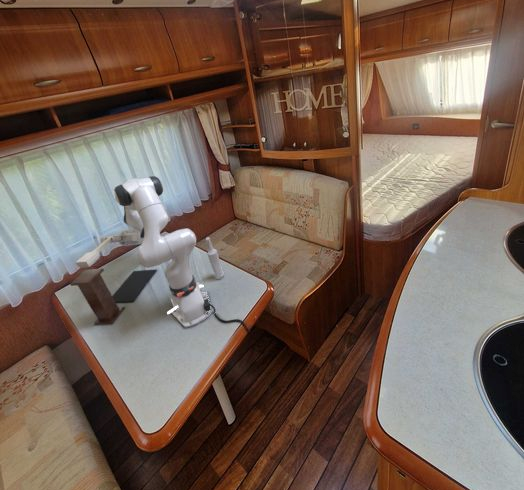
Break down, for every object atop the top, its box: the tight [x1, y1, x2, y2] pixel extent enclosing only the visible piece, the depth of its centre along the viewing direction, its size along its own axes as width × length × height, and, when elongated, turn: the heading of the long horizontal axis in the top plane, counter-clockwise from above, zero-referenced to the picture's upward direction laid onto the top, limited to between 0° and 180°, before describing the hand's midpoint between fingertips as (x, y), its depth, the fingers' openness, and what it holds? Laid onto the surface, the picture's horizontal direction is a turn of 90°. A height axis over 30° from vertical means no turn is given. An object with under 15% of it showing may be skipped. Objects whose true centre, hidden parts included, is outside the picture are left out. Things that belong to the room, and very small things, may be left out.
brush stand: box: [69, 267, 125, 325], centre depth 132 cm, size 10×10×26 cm
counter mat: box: [112, 269, 157, 304], centre depth 156 cm, size 26×16×1 cm, turn 172°
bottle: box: [205, 236, 225, 281], centre depth 144 cm, size 5×5×25 cm
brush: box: [75, 235, 114, 269], centre depth 135 cm, size 22×6×3 cm, turn 172°
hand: (108, 239), depth 142 cm, fingers closed on brush, 2 cm apart
